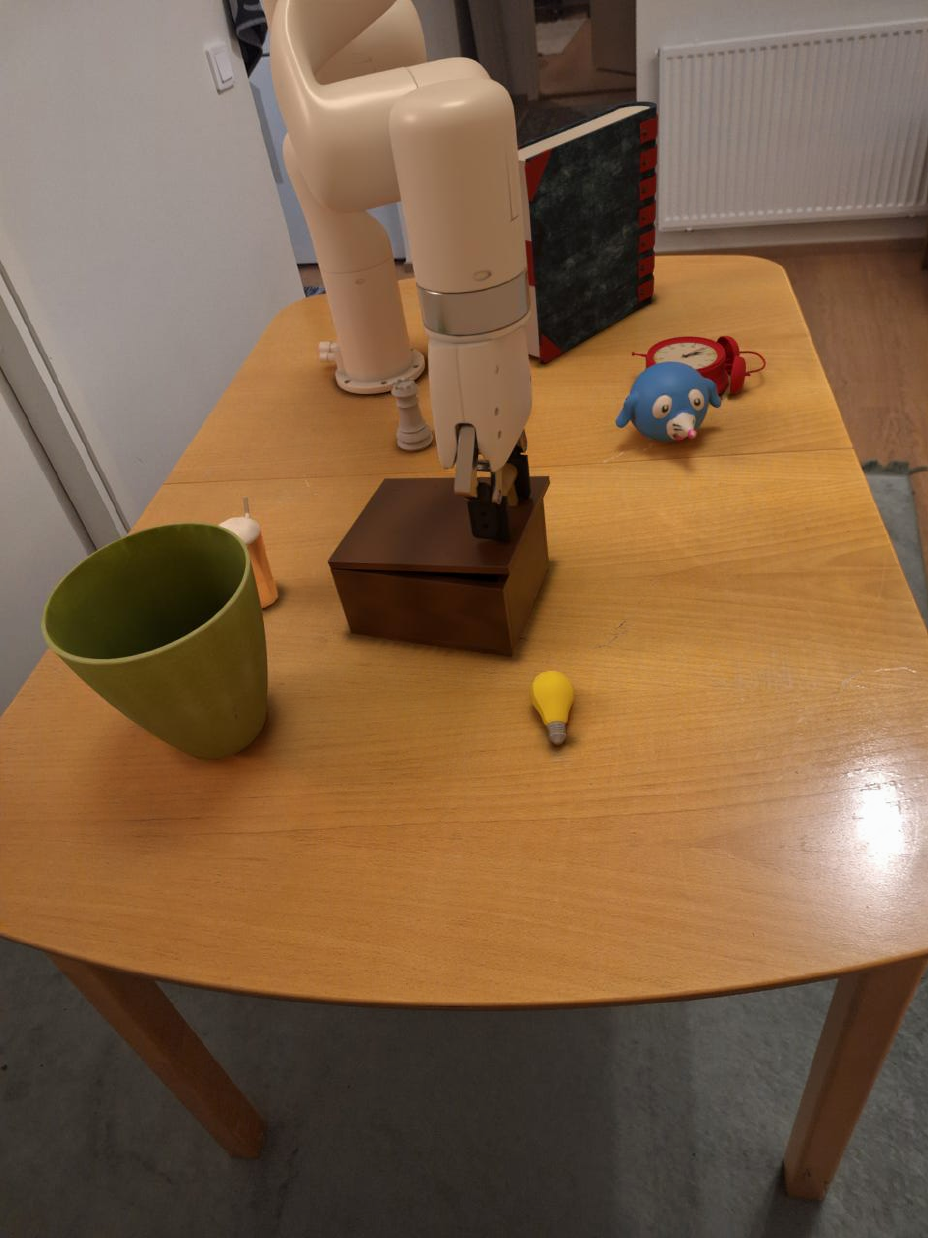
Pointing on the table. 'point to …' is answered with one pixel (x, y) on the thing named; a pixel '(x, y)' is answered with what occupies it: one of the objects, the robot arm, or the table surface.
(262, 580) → the milkshake
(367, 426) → the table surface
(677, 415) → the blue dog toy
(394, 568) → the lid
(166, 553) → the flower pot
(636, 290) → the book
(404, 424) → the rook chess piece
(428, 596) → the chest
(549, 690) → the light bulb
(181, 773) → the table surface
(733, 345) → the alarm clock
